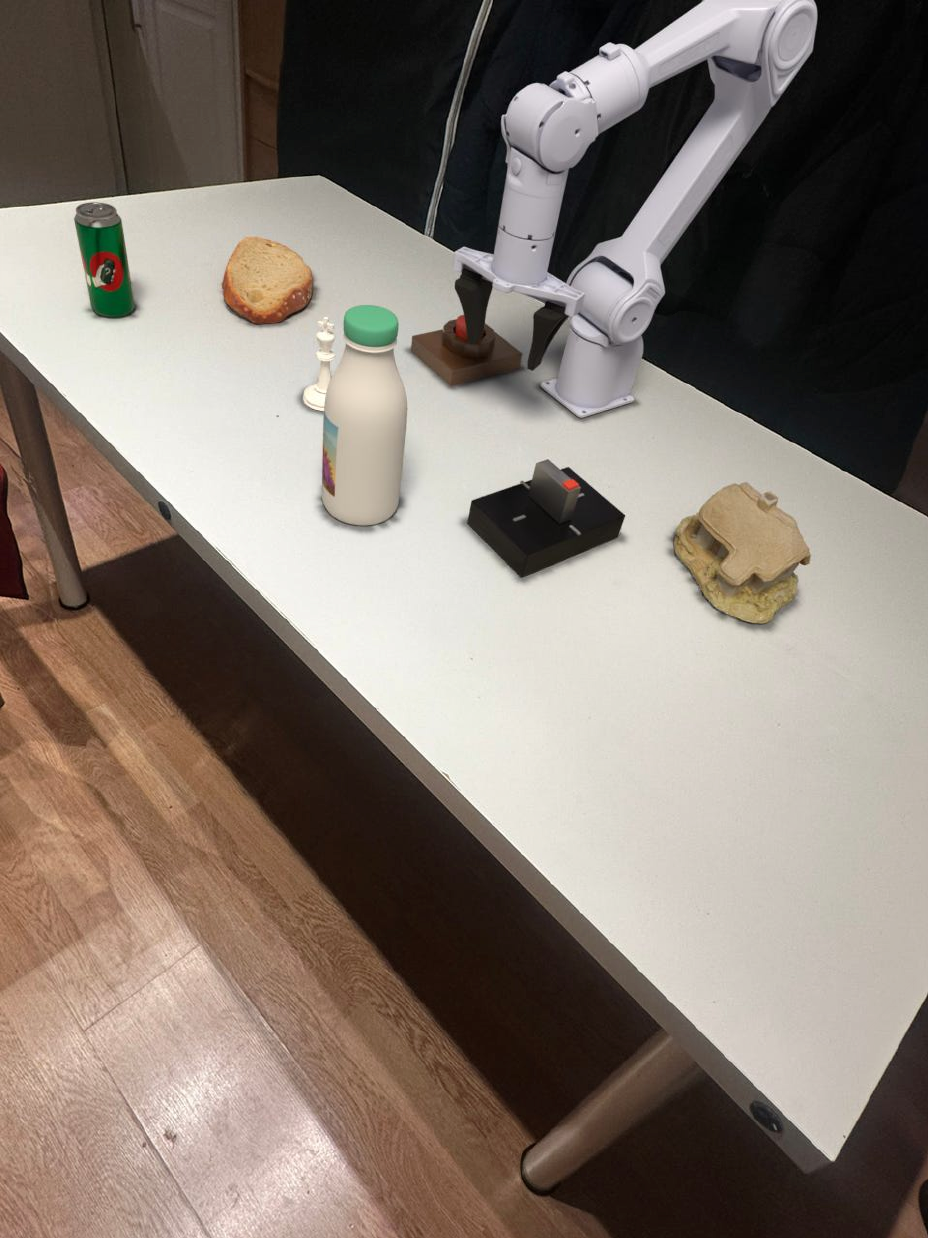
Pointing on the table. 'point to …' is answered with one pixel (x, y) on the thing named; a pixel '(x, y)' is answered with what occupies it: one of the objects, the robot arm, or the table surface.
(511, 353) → the brown button base
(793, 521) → the ceramic model
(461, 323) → the button
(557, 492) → the knob
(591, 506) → the panel
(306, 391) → the chess piece
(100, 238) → the soda can
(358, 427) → the milk bottle
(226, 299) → the slice of bread
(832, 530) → the table surface
